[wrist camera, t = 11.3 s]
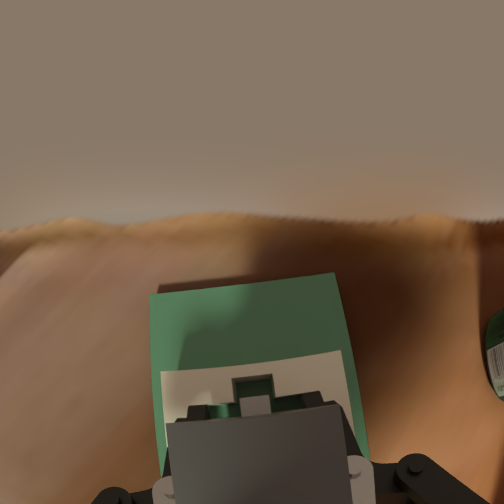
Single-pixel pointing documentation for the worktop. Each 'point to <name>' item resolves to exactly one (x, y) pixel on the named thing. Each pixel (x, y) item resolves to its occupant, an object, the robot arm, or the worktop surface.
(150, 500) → the robot arm
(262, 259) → the worktop surface
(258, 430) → the plug
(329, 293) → the header board
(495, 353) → the coffee jar
